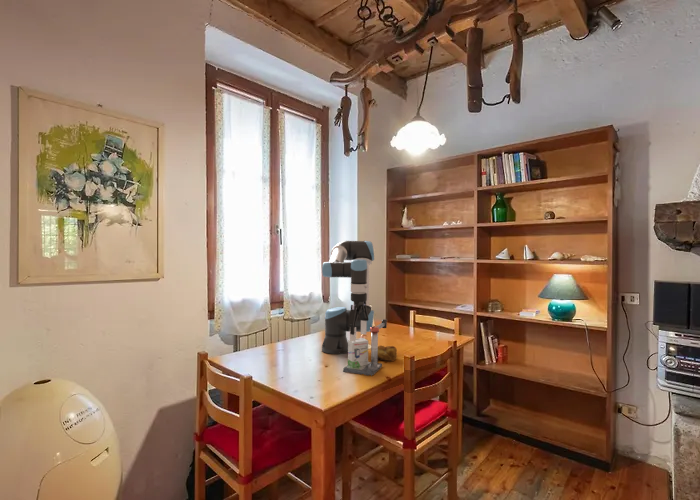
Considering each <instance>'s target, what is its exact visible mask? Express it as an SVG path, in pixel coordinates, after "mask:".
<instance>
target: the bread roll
mask: <svg viewBox="0 0 700 500" xmlns="http://www.w3.org/2000/svg"><path fill="white" fill-rule="evenodd" d="M397 351H398V350H397V348H396V347H395V346H393V345H387V346H384V345H378V361H384V362H394V361H396V359H397V356H398V355H397V354H398V352H397Z"/></svg>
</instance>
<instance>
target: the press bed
mask: <svg viewBox="0 0 700 500" xmlns="http://www.w3.org/2000/svg"><path fill="white" fill-rule="evenodd" d="M370 333H371V334H370V335H371V336H370V337H371V339H370V341H371V342H370V343H371V346H370V348H371V349H370V351H371V352H370V361H368V365H363V366H358V367H351V366H350V365H348V364H347V365H346V366H344V368H343V371H342V372H345V373H349V374H355V375H356V374H358V375H362V374H364V375H363V376H369V375H371V377H373V376H374V375H375V374H376V373H377V372H379V370H380V369H381V368H382V367H383V363H381V362H380V363H379V362H378V361H379V360H378V346H379V332H378V333H372V332H370ZM372 375H373V376H372Z"/></svg>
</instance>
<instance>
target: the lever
mask: <svg viewBox="0 0 700 500" xmlns="http://www.w3.org/2000/svg"><path fill="white" fill-rule="evenodd" d="M387 321H388V319H387V318H383V319H381V323H379V324H377V325H376V326H372V327H370V333H371V332H372V333H378V334H379V332H380V329H387V326H388V322H387Z"/></svg>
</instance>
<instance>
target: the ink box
mask: <svg viewBox="0 0 700 500" xmlns="http://www.w3.org/2000/svg"><path fill="white" fill-rule="evenodd" d="M347 341H348V352H347V365H350V366H351V367H358V366H363V365H368V362H369V340H368V339H366V338H364V337H360V338H356V342H353V341H350V339H349V340H348V339H347Z"/></svg>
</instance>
